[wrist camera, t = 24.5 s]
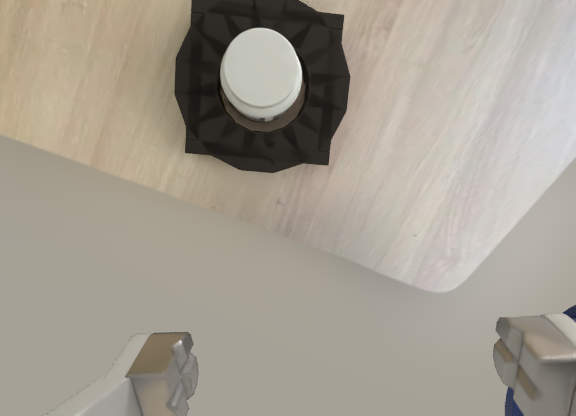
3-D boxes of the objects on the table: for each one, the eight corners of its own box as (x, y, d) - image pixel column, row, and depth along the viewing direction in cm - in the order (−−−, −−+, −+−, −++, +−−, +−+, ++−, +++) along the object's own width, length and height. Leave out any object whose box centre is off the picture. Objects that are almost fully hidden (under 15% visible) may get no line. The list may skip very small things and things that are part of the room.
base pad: (333, 175, 34) (338, 178, 32) (178, 162, 33) (171, 164, 31) (351, 13, 32) (358, 2, 29) (185, -7, 31) (178, -21, 28)
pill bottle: (281, 46, 32) (290, 3, 22) (303, 110, 33) (320, 97, 23) (219, 68, 32) (200, 35, 22) (242, 132, 33) (234, 127, 23)
